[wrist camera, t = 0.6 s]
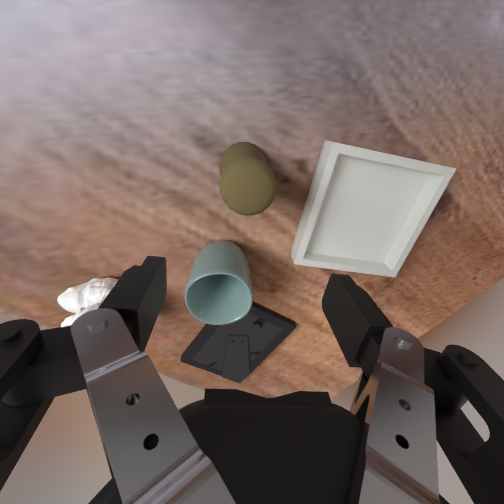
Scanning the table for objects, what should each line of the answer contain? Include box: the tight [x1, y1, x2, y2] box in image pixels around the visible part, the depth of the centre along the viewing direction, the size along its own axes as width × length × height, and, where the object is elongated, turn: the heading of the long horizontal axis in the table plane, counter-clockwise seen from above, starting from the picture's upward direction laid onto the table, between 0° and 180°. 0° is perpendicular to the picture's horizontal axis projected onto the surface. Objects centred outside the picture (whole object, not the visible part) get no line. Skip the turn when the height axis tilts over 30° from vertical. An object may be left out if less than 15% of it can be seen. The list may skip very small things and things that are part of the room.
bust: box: [58, 278, 119, 327], centre depth 34 cm, size 12×8×11 cm
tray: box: [290, 140, 456, 277], centre depth 33 cm, size 16×16×3 cm
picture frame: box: [181, 301, 296, 383], centre depth 45 cm, size 13×2×18 cm
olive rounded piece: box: [220, 142, 277, 215], centre depth 26 cm, size 6×6×11 cm
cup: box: [185, 241, 253, 325], centre depth 32 cm, size 8×8×10 cm
